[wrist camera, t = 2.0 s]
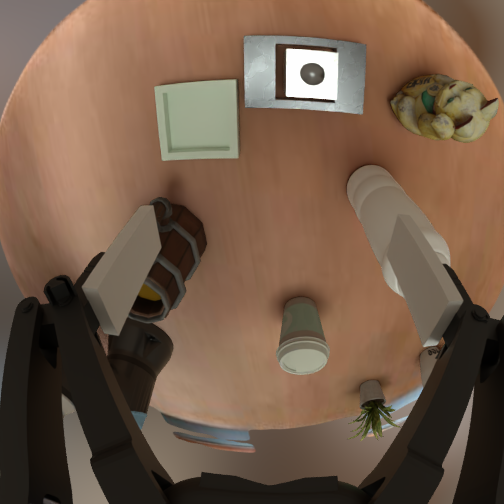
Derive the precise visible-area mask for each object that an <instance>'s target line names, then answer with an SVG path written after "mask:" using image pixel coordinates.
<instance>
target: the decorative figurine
mask: <svg viewBox="0 0 504 504" xmlns="http://www.w3.org/2000/svg"><path fill="white" fill-rule="evenodd" d="M396 96H397V97H394V98H393V100H391V102H390V104H391V107H392V109H393V111H394V113H395V115H396V117H397V118H398V120H399V121H400V122H401V123H402V125H403V126H404V127H405V128H406V129H407V130H409V131H410V132H412V133H414V134H417V135H420V136H423V137H426V138H430V139H433V140H448V139H450V138H452V139H454V140H456V141H459V142H463V143H469V142H472V141H475V140H477V139H478V138H480V137H481V136H482V135H483V134H484V133H485V131H486V130H487V128H488V126H489V122H490V120H491V119H492V118H493V117H494V116H495V115H496V113H497V110H498V106H499V103H498V98H495V99H493V100H490V101H487V100H486V98H485V97H484V95H483V94H482V93H481V92H480V91H479V90H478V89H477V88H476V87H474V86H473V84H470V83H467V82H463V81H459V80H454V79H452V78H450V77H449V76H447V75H442V74H435V75H434V74H432V75H425V76H420V77H417V78H415V79H413V80H412V81H410V82H409V83H407V84H406V85H405V86H404V87H403V88H402V89H401V91H399V92H398V93H397V94H396Z"/></svg>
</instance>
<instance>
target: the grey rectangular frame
mask: <svg viewBox="0 0 504 504" xmlns="http://www.w3.org/2000/svg"><path fill="white" fill-rule="evenodd" d="M275 45H288V46H306V47H318V48H328V49H333V52H335V53H338V81H337V100H332V99H331V101H324V100H310V99H292V98H275ZM365 68H366V44H360V43H354V42H347V41H339V40H331V39H322V38H311V37H296V36H244V79H245V108H291V109H310V110H324V111H335V112H345V113H354V114H363V102H364V87H365Z"/></svg>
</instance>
